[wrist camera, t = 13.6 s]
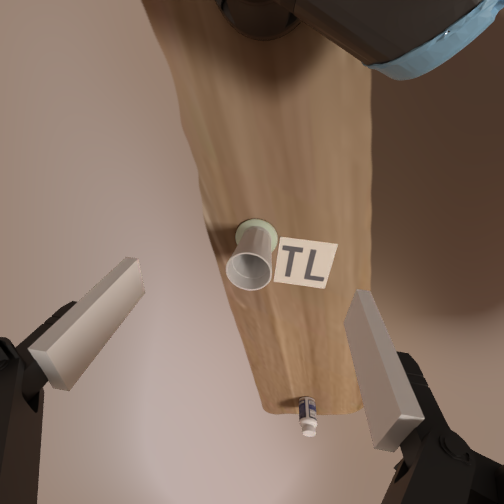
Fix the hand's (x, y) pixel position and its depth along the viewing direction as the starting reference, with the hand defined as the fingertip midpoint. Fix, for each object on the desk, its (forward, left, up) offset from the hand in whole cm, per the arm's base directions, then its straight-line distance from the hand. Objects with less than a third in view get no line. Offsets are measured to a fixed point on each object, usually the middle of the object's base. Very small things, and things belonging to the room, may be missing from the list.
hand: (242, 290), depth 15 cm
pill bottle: (+74, +20, -35) cm, 84 cm away
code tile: (+20, +9, -35) cm, 41 cm away
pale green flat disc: (+15, -2, -35) cm, 38 cm away
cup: (+15, -2, -34) cm, 37 cm away
